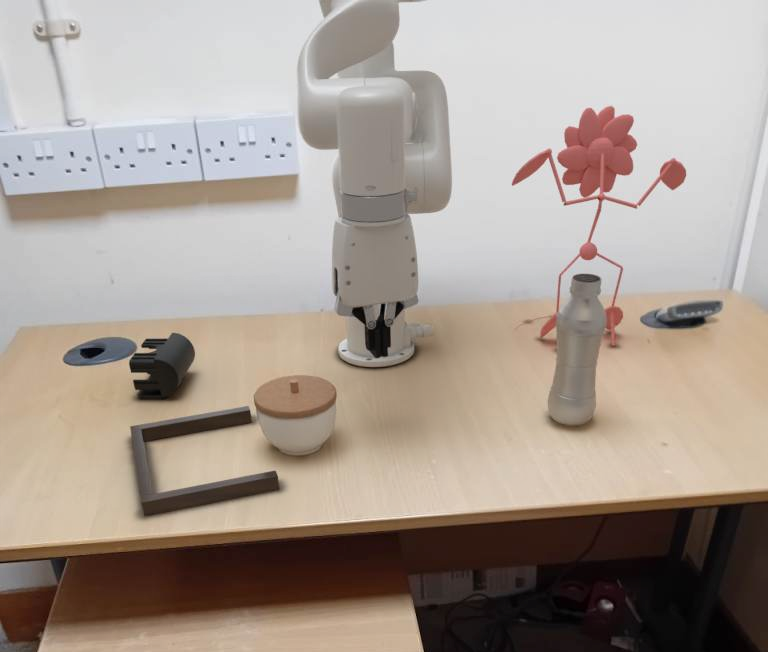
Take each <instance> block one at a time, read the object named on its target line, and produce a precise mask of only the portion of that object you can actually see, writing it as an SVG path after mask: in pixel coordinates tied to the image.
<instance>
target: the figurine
mask: <svg viewBox="0 0 768 652" xmlns="http://www.w3.org/2000/svg"><path fill="white" fill-rule="evenodd" d="M615 112H616V110H615V107H614V106H613V105H609V106H605V107H603V108H602V109H601V110H600V111H599V112H598V113H596V112H595V110H594V109H593V108H592V107H586V108H585V109H584V110H583V112H582V113H581V116H580V118H579V122H578V127H575V126H571V125H568V126H567V127H566V128H565V129H564V134H563V135H564V136H563V137H564V143H565V146H566V148H564V149H562V150H560V152H558V153H557V157H556V159H557V162H558V163H559V164H560V165H561V166H562V167H563V168H565V169H566V170H565V171H564V172H563V174H562V178H561V179H560V177H559V173H558V171H557V167H556V164H555V160H554V158H553V155H552V153H553V150H552V149H551V148H547V149H546V150H543V151H541V152H539V153H538V154H536V155H535V156H533V157H532V158H530V159H529V160H528V161H527V162H525V163H524V164H523V165H522V166H521V167H520V168H519V170H518V171H517V172H516V174H515V176H514V177H513V180H512V181H511V186H515V185H517V184H519V183H521V182H522V181H524V180H526V179H527V178H530V177H531V176H532V175H533V174H534V173H536V172H537V171H538V170H539V169H540V168H541V167H542V166H543V165H544V164H545V163H546V161H547V160H548V161H549V164H550V167H551V170H552V173H553V177H554V179H555V184H556V186H557V189H558V193H559V196H560V199H561V202H562V203H563V207H565V206H570V205H575V204H580V203H585V202H589V201H594V200H598V205H597V209H596V213H595V217H594V218H593V222H592V226H591V229H590V232H589V236H588V239H587V242H585V243H584V244H582V245H581V246H580V248H579V253H578V254H577V255H576V256H575V257H574V258H573V259H572V261H570V263H569V264H567V265H566V267H565V268H564V269H563V270H562V271H561V272H560V273H559V274H558V282H557V283H558V284H557V295H556V296H557V297H556V298H557V299H556V309H555V312H554V314H552V315H547V316H543V317H538V318H534V319H531V320H530V319H527V320H525V321H524V322H523V323H522V324H520V325H518V326H517V327H515V330H517V329H518V328H519V327H521V326H523V325H525V324H527V323H530V322H532V321H536V320H540V319H546V318H549V319H548V320H546V322H545V323H544V325H543V326H542V327H541V329H540V332H539V333H540V335H539V336H540V339H542V338H544V337H545V336H546V335H548V334H549V333H550V332H551V331H552V330H554V328H556V316H557V313H558V311H559V309H560V296H561V283H562V276H563V274H565V272H567V270H568V269H569V268H570V267H571V266H572V265H573V264H574V263H575V262H576V261H577V260H578V259H579V258H580V257H581V259H582V260H584V261H591V260H593V259H595V258H596V257H599V258H601V259H603V260H604V261H605V262H608V263H610V264H612V265H614V266H616V267H618V268H620V270H619V273H618V278H617V282H616V286H615V290H614V294H613V299H612V301H611V306H608V307H606V308H604V310H605V312H606V317H607V323H606V328H605V330H609V331H610V338H611V339H610V342H611V346H612V347H613V346H616V334H615V333H616V332H615V328H616V327H618V325H620V323H621V322H622V320H623V319H624V311H623V310H622V309H621V307H620V306H616V305H615V303H616V300H617V295H618V291H619V288H620V283H621V279H622V276H623V272H624V268H623V267H624V266H622V265H620V264H618V263H617V262H615V261H613V260H611V259H609V258H607V257H606V256H604V255H603V254H601V253H598V247H597V245H596V244H594V243H593V242H591V240H592V238H593V235H594V233H595V229H596V227H597V224H598V220H599V217H600V215H601V212H602V207H603V201H609V202H611V203H616V204H619V205H622V206H626V207H630V208H633V209H636V210H637V209H638V207H640V206H641V205H642V204H643V203H644V201H646V199H647V198H648V196H649V195H650V194H651V193H652V192H653V190H654V189H655V188H656V186H658V184H659V183H660V182H661V183H663V184H664V185H665V186H666V187H667V188H668V189H670V190H671V191H674V190H676V189H678V188H679V187H680V186H681V185H683V184H684V182H685V180H686V177H687V169H686V167H685V166H684V164H683V163H682V162H680V161H679V160H677V159H676V158H674V157H673V158H671V159H670V160H667V161H664V163H663V165H661V167H660V169H659V176H658V177H656V179H655V180H654V182H653V183H652V184H651V186H650V187H649V188H648V189H647V191H645V193H644V194H643V195H642V197H640V199H639V200H638V202H637V203H633V202H629V201H625V200H621V199H619V198H615V197H611V196H607V195H605V194H606V193H610V192H611V191H612V190H613V187H614V184H615V182H616V179H617V175H618V176H625V177H626V176H630V175H631V174H632V173H633V171H634V160H633V157H632V156H631V153H633V152H634V151H635V150H636V149H637V146H638V142H637V140H636V139H635V137H633V136H632V135H631V134H629V132H630V131H631V129H632V128H633V125H634V122H635V119H634V116H633V115H631V114H629V113H628V114H621V115H618V116H615V114H616V113H615ZM561 180H562V183H561ZM562 184H563V185H565V186H573V185H579V184H580V185H579V188H578V190H579V193H580V196H581V198H576V199H573V200H567V199H566V196H565V193H564V190H563V187H562ZM598 189H599V194H597V195H593V194H594V193H595V192H597V190H598ZM604 193H605V194H604ZM647 342H648V344H650V341H649V339H647Z"/></svg>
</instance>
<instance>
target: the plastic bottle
mask: <svg viewBox="0 0 768 652" xmlns="http://www.w3.org/2000/svg"><path fill="white" fill-rule="evenodd" d="M601 287H602V277H601V276H599V275H597V274H593V273H577V274H574V275H573V276H572V277H571V283H570V287H569V293H570V296H569V297H568V298H567V299H566V300H565V301H564V302H563V303H562V304H561V306H559V311H558V313H557V316H556V326H555V328H556V359H555V360H556V362H555V368H554V373H553V379H552V384H551V387H550V389H549V393H548V398H547V411H548V414H549V415H550V417H551V418H552V419H553V420H554V421H555V422H557V423H559V424H561V425H566V426H580V425H584V424H586V423H588V422H589V421H590V420H591V419H592V418H593V416H594V413H595V411H596V408H597V393H596V392H597V391H596V381H597V380H596V379H597V378H596V377H597V366H598V359H599V355H600V349H601V345H602V341H603V338H604V335H605V331H606V323H607V317H606V312H605V310H604V309H605V308H604V305H603V304H602V302H601V301H600V299H599V297H598V296H600V295H601V293H602V288H601Z"/></svg>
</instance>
